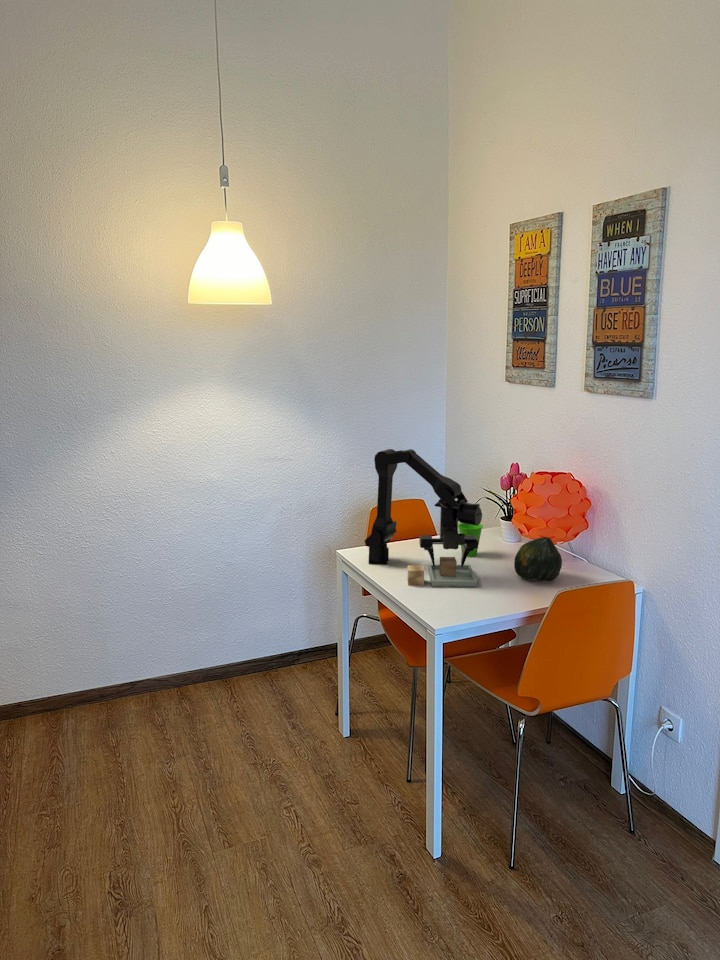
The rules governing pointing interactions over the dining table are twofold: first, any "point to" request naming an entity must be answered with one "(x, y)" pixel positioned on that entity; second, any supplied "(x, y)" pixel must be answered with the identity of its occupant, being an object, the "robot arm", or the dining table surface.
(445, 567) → the walnut block
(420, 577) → the oak block
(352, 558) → the dining table surface
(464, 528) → the cup
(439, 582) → the tray
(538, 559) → the squash
